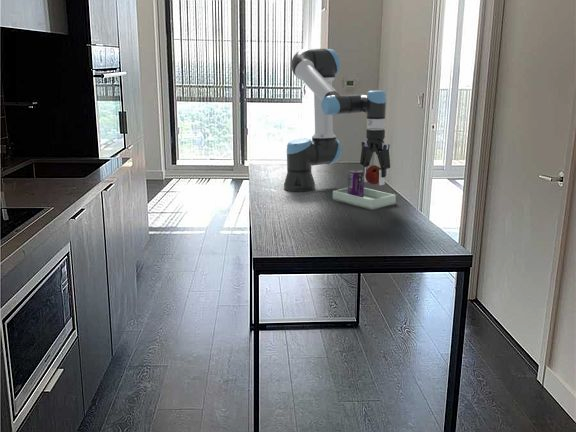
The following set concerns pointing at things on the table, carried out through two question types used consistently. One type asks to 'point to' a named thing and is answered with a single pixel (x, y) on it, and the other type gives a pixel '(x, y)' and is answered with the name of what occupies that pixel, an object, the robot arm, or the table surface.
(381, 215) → the table surface
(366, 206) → the tote
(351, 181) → the beverage can
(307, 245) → the table surface
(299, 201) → the table surface
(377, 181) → the apple
